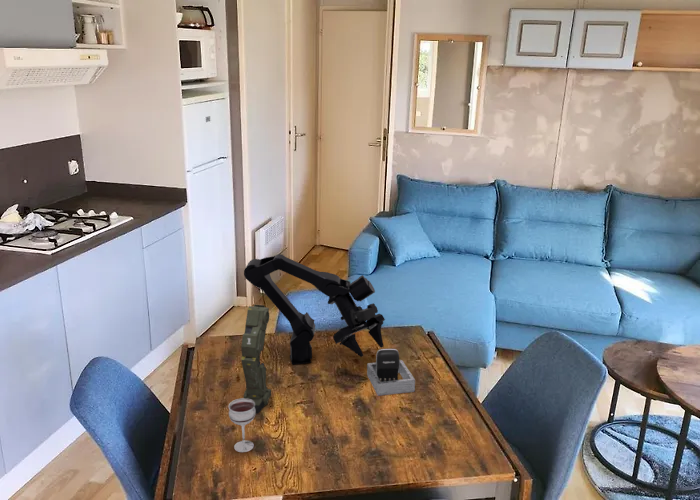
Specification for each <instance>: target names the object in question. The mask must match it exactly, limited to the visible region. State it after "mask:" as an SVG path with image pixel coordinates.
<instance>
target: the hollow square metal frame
mask: <svg viewBox="0 0 700 500" xmlns="http://www.w3.org/2000/svg"><path fill="white" fill-rule="evenodd" d="M366 364H367V365H366V376H367V377H368V379H369V381H370V383H371V385H372V387H373V390H374V391H375V393H376V395H377V396H389V395H396V394H406V393H413V392H415V391H416V389H415V388H416V387H415V386H416V379H415V377H414V376H413V374H412V373H411V371H410V370H409V369H408V367H407V365H406V364H405V363H404V360H402V359H399V369H398V374H400V376H401V378H402V379H398V380H393V381H384V382H380V380H379V378H378V376H377V374H376V362H368V363H366Z"/></svg>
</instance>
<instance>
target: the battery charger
mask: <svg viewBox="0 0 700 500" xmlns="http://www.w3.org/2000/svg"><path fill="white" fill-rule="evenodd" d="M375 357H376V359H375V360H376V361H375V363H376V374H377V376H378V378H379V380H380V382H384V381H393V380H399V379H398V378H399V373H398V369H399V360H400V352H399V351H398V350H397V349H396V348H379V349H378V350H377V352H376V356H375Z"/></svg>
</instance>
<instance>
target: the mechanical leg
mask: <svg viewBox="0 0 700 500" xmlns="http://www.w3.org/2000/svg"><path fill="white" fill-rule="evenodd" d="M269 322H270V308H269V307H267V306H266V307H265V304H264V305H263V304H254V305H253V306H252V305H249V306H248V308H247V311H246V318H245V326H244V333H243V334H242V338H241V346H240V347H241V349H240V350H241V359H240V361H241V365H242V371H243V376H244V380H245V381H244V382H245V390H244V392H243V395H242V398H248V399H251V400H253V401H254V402H255V406H254V407H255V409H256V415H257V414H259V413H261V411H262V410H263V408H265V406H268V404H269V399H270V397H271V396H272V389H270V388H269V389H268V387H267V384H266V382H267V368H266V366H265V363H264V362H261V359H260V358H261V353H262V351H264V346H265V339H266V331H267V327H268V324H269Z"/></svg>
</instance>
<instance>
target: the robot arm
mask: <svg viewBox="0 0 700 500" xmlns="http://www.w3.org/2000/svg"><path fill="white" fill-rule="evenodd" d="M278 270H279V271H282V272H284V273H286V274H289V275H290V276H293V277H295V278H297V279H300V280H302V281H304V282H307V283H309V284H310V285H313V286H314V287H315V288H316V289H317V290H318V291H319V292H321V293H322V294H324V295H325V296H327V297H328V300H327V304H328V305H334V304H335V305H336V307H337V309H338V311H339V313H340V315H341V317H340V320H341V321H344V322H345V323H346V326H345V327H342V328H339V330H337V331H336V332H335V333H334V334H333V341H334V343H335V344H336V345H337V344H339V345H340V346H344V347H346V348H347V349H349V350H350V351H352V352H353V353H355V354H356V355H357V356H359V357H360V358H363V357H364V353H363V351H362V348H361V346H360V345H359V342H357V339H356V333H358V332H360V331H363V330H366V329H367V330H369V331H368V332H367V333H368V334H369V335H370V336H371V337H372V339H373V340H374V341H375V342H376V344H377V345H378V346H379V347H380V349H383V348H384V345H385V344H384V342H383V341H384V340H383V335H382V325H384V321H385V320H386V318H385V317H384V316H383V314H381V313H378V311H379V309H378V308H377V306H376V304H375V302H374V303H370V304H368V305H367V306H366V308H364V309H363V308H362V306H361V305H359V306H358V305H357V303H356V302H363V301H364V300H366V299H367V298H368V297H370V296H371V295H373V294H375V293H376V290H375V288H374V286H373V284H372V282H371V281H370V280H368V278H366V277H365V276H364V275H363V274H362V275H360V276H359V277H358V278H356V279H355V280H354V281H352V282H351V281H350V280H346V279H344V278H340V276H339V275H337V274H335V273H331V272H327V271H318V270H316V269H313V268H311V267H309V266H306V265H304V264H302V263H300V262H298V261H296V260H293V259H291V258H289V257H287V256H285V255H283V254H280V253H279V254H276V255H273V256H267V257H266V256H265V257H263V258H260V259H258V258H253V259H251V260H249V262H248V263H247V265H246V267H245V268H244V270H243V276H244V278H245V280H247V281H248V282H249V283H250V284H251V285H252V286H253V287H256V288H258V289H260V290H261V291H263V293H264V294H265V295H266V297H268V299H269V300H270V301H271V303H272V304H274V305H275V307H276V308H277V309H278V311H280V313H281V314H282V315H283V316H284V318H285V319H286V320H287V322H288V323H289V325H290V328H291V329H292V335H291V338H290V342H289V345H290V348H289V349H290V354H289V359H290V362H291V365H301V364H311V363H312V358H313V347H312V344H311V341H312V340H314V337H315V331H316V324H315V319H313V318H312V317H311V315H310V314H309V312H305V313H304V314H303V313H301V311H299V310H298V309H297V308H296V307H295V305H294V304H293V303H292V302H291V300H290V299H289V298H288V297H287V296H286V295H285V293H284V292H283V291H282V290H281V289H280V287H279V286H277V284H276V283H275V282H274V280H273V279H272V277H271V274H272V273H274V272H275V271H278ZM355 301H356V302H355ZM377 313H378V314H377Z"/></svg>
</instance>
